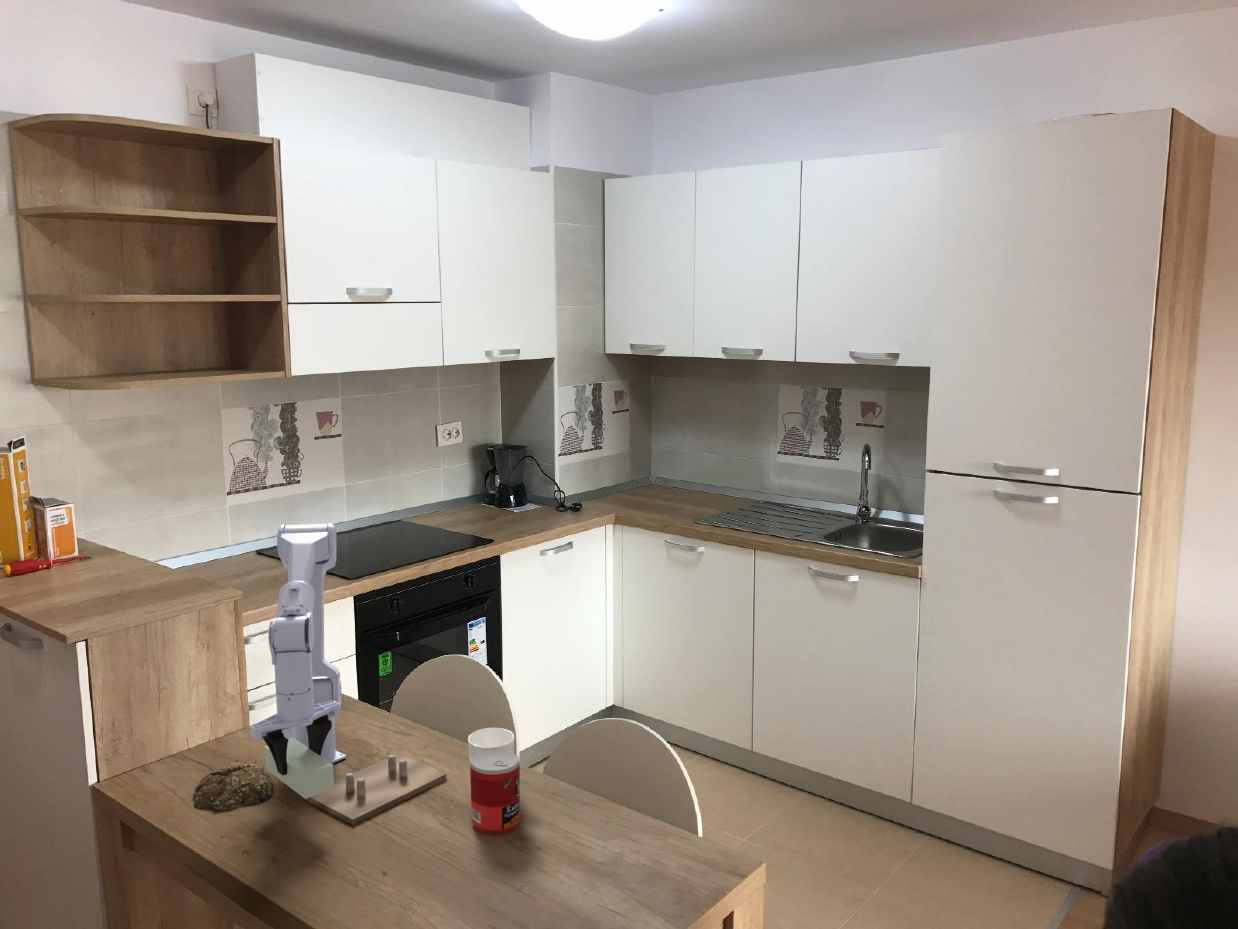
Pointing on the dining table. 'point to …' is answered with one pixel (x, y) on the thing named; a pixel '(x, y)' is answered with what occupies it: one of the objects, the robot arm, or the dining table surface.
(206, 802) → the bread roll
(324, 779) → the pale green rectangular block
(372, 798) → the peg base
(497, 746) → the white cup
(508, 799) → the canned food
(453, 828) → the dining table surface
